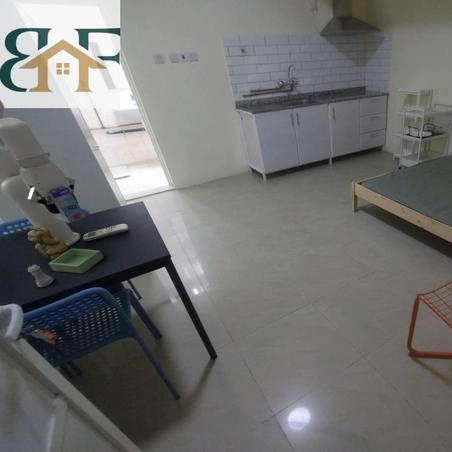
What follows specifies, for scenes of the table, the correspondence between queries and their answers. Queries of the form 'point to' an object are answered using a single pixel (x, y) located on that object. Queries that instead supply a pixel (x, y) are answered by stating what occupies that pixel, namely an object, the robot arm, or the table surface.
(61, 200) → the ink cartridge box
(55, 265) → the open rectangular box
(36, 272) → the rook chess piece
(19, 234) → the table surface
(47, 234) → the decorative figurine
